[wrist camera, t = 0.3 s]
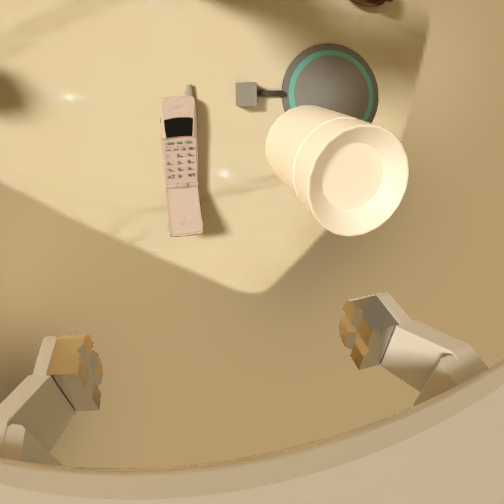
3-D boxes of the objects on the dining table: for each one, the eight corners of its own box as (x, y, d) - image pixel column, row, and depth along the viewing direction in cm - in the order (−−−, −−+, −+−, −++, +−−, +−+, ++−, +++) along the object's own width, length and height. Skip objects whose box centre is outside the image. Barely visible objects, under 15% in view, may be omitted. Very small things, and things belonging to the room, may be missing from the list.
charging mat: (234, 38, 44) (237, 36, 42) (379, 51, 50) (386, 51, 48) (237, 150, 55) (240, 153, 53) (374, 146, 60) (380, 149, 58)
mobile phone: (169, 238, 54) (157, 87, 41) (168, 223, 59) (159, 87, 46) (204, 234, 55) (198, 84, 43) (200, 220, 60) (195, 84, 47)
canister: (246, 150, 55) (281, 188, 38) (308, 87, 51) (369, 98, 34) (304, 202, 63) (352, 255, 46) (359, 146, 59) (424, 180, 42)
